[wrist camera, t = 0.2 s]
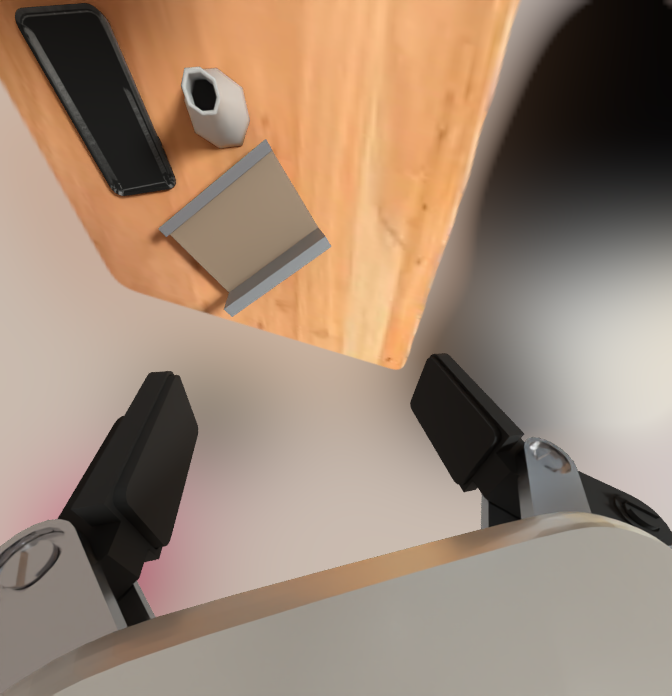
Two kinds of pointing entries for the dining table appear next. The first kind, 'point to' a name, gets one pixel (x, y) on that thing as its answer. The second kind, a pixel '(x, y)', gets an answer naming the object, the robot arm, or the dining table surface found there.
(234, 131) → the flask
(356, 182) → the dining table surface
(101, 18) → the phone
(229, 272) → the wall shelf
